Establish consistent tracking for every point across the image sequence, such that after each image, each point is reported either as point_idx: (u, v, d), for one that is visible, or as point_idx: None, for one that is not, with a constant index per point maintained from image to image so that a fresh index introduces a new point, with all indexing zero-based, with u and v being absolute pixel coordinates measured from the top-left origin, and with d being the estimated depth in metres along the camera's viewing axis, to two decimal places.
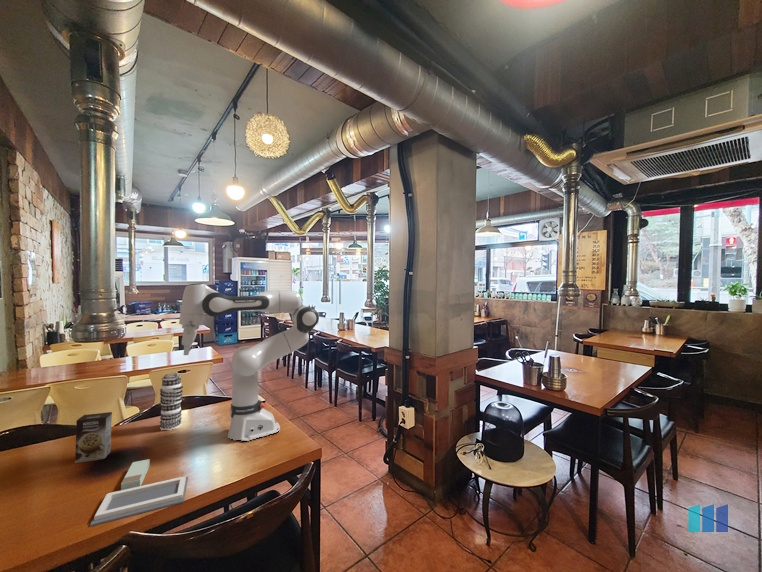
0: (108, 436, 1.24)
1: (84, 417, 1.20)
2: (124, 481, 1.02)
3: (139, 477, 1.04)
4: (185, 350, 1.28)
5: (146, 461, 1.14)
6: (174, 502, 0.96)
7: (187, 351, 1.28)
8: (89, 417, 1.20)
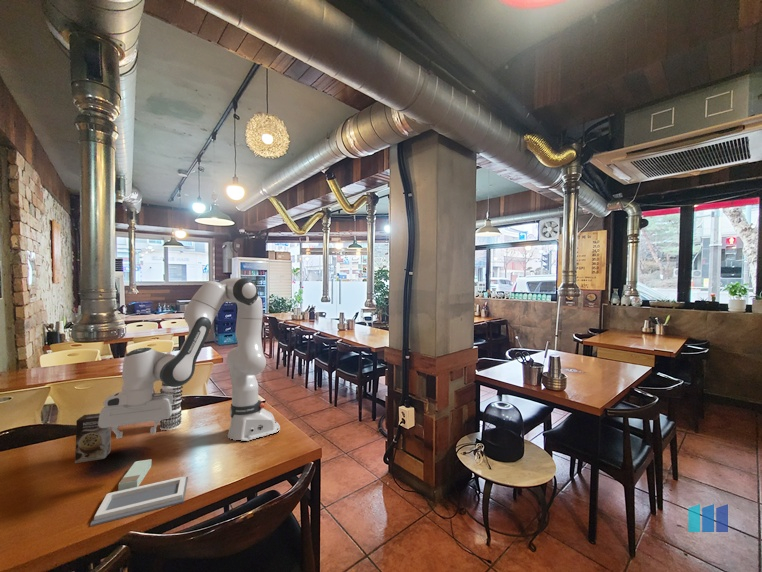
0: (108, 436, 1.24)
1: (84, 417, 1.20)
2: (122, 481, 1.02)
3: (137, 478, 1.04)
4: (156, 426, 1.11)
5: (148, 461, 1.14)
6: (174, 502, 0.96)
7: None
8: (89, 417, 1.20)
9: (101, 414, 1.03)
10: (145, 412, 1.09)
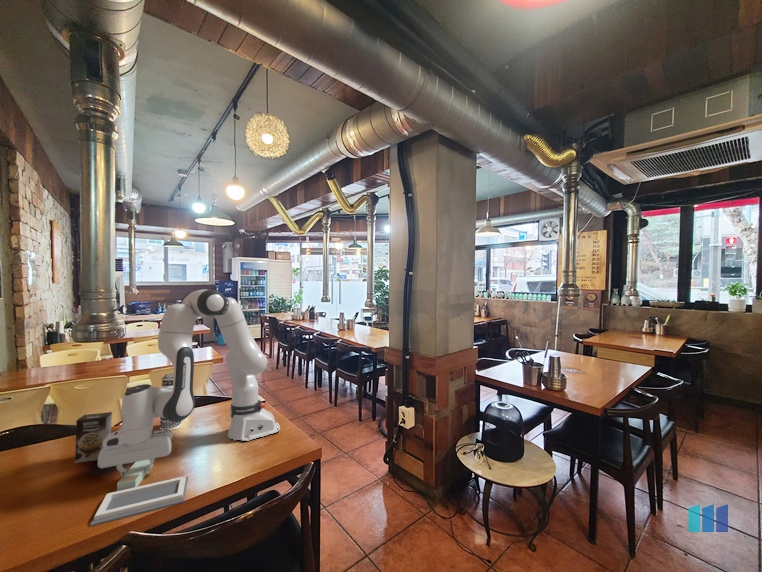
0: None
1: (84, 417, 1.20)
2: (120, 480, 1.02)
3: (135, 477, 1.04)
4: (151, 464, 1.10)
5: None
6: (174, 502, 0.96)
7: None
8: (89, 417, 1.20)
9: (100, 455, 1.03)
10: (145, 450, 1.08)
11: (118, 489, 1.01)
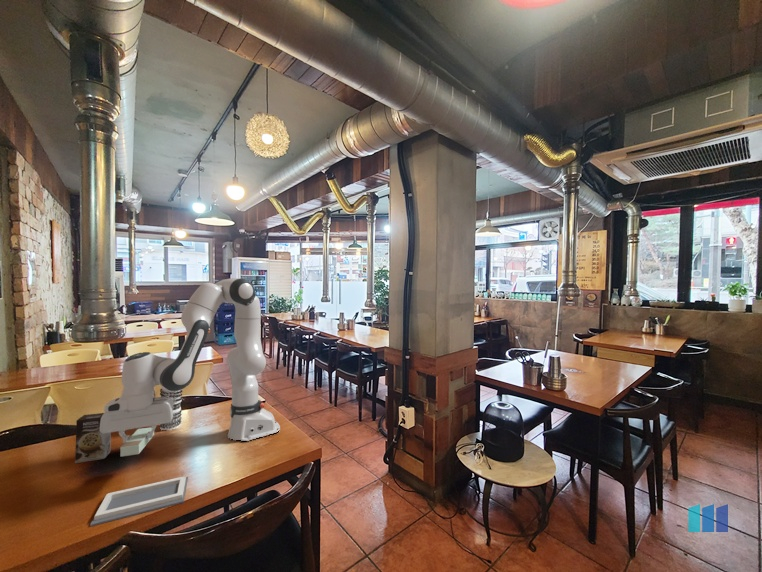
0: (108, 436, 1.24)
1: (84, 417, 1.20)
2: (123, 445, 1.03)
3: (138, 442, 1.04)
4: None
5: (150, 428, 1.15)
6: (174, 502, 0.96)
7: None
8: (89, 417, 1.20)
9: (102, 420, 1.03)
10: (146, 416, 1.09)
11: (121, 453, 1.02)
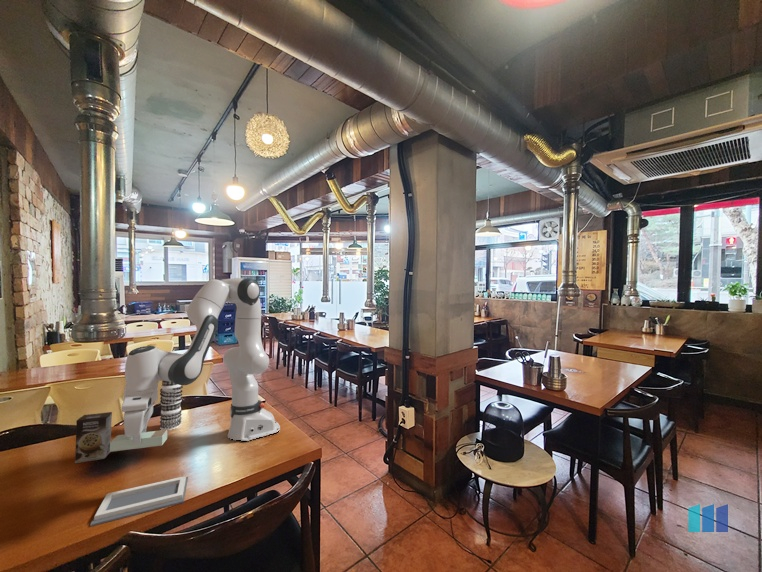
0: (108, 436, 1.24)
1: (84, 417, 1.20)
2: (160, 435, 1.03)
3: (162, 430, 1.06)
4: None
5: (122, 435, 1.02)
6: (174, 502, 0.96)
7: None
8: (89, 417, 1.20)
9: (143, 419, 0.95)
10: (149, 410, 1.06)
11: (162, 442, 1.03)
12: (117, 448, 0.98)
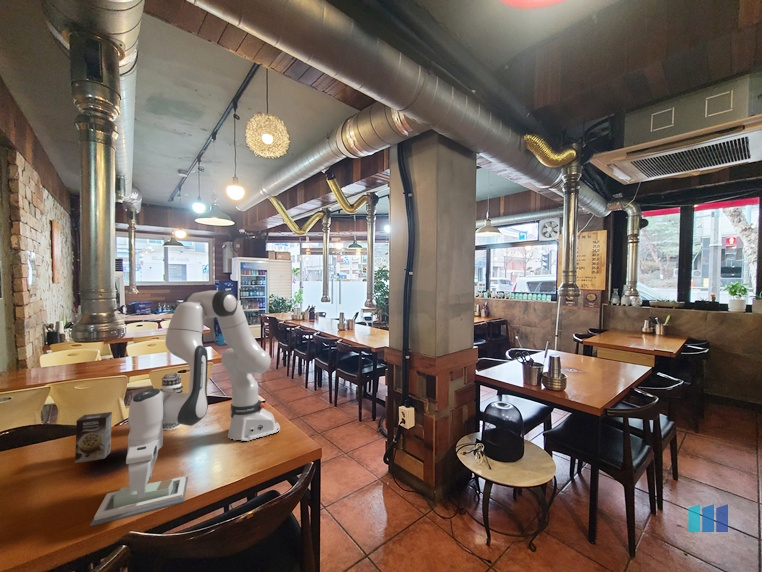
0: (108, 436, 1.24)
1: (84, 417, 1.20)
2: (166, 487, 0.98)
3: (168, 480, 1.02)
4: None
5: (126, 488, 0.98)
6: (174, 502, 0.96)
7: None
8: (89, 417, 1.20)
9: (148, 470, 0.91)
10: (154, 456, 1.01)
11: (169, 494, 0.98)
12: (121, 504, 0.94)
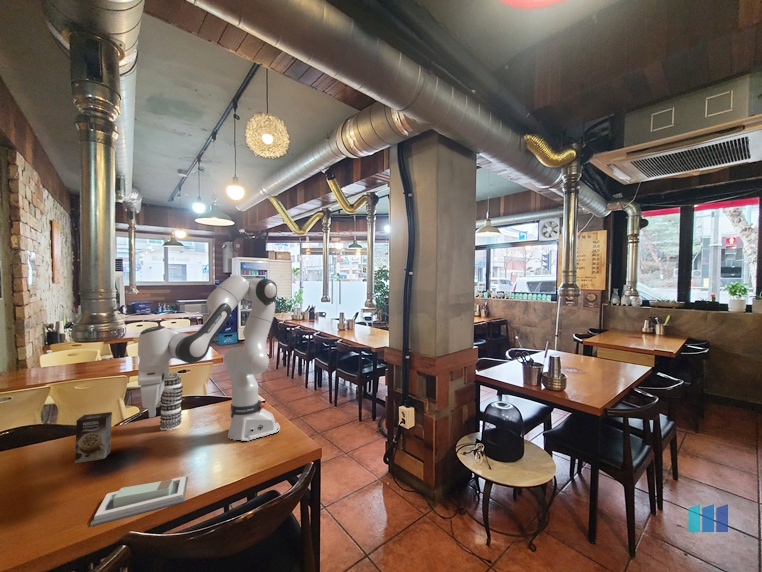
0: (108, 436, 1.24)
1: (84, 417, 1.20)
2: (166, 487, 0.98)
3: (168, 480, 1.02)
4: None
5: (126, 488, 0.98)
6: (174, 502, 0.96)
7: None
8: (89, 417, 1.20)
9: (158, 391, 1.04)
10: (161, 385, 1.14)
11: (169, 494, 0.98)
12: (121, 504, 0.94)
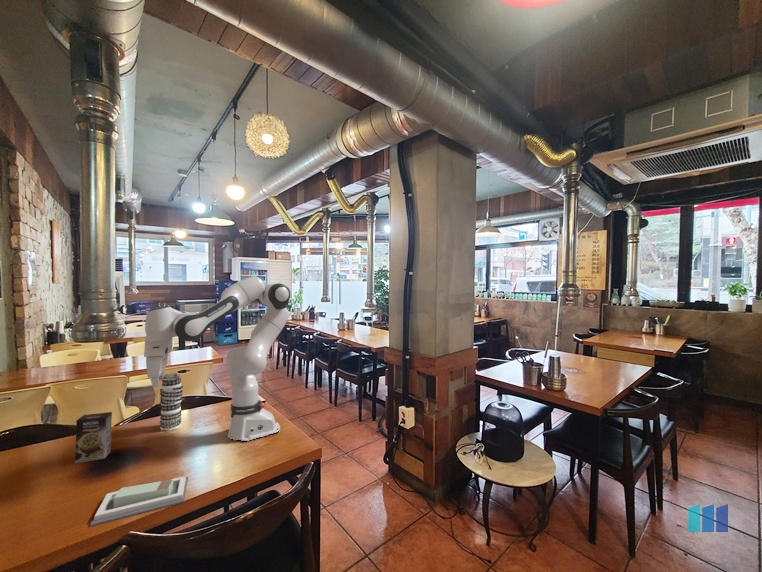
0: (108, 436, 1.24)
1: (84, 417, 1.20)
2: (166, 487, 0.98)
3: (168, 480, 1.02)
4: None
5: (126, 488, 0.98)
6: (174, 502, 0.96)
7: None
8: (89, 417, 1.20)
9: (161, 363, 1.15)
10: (165, 360, 1.25)
11: (169, 494, 0.98)
12: (121, 504, 0.94)
